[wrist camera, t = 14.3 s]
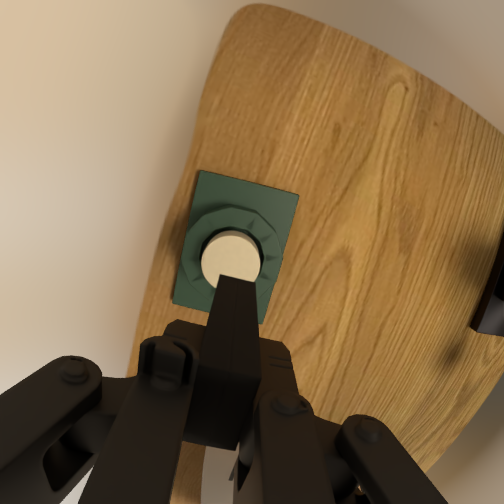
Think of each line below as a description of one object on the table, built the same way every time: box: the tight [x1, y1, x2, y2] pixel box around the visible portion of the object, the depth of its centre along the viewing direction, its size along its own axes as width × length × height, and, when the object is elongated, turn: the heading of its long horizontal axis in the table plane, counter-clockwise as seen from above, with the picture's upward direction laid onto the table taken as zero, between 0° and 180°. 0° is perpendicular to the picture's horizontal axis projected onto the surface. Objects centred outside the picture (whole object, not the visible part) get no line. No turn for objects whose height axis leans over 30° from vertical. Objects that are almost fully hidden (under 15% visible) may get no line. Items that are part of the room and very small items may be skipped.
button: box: [201, 230, 260, 288], centre depth 21 cm, size 4×4×2 cm
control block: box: [172, 170, 299, 324], centre depth 22 cm, size 7×10×2 cm
